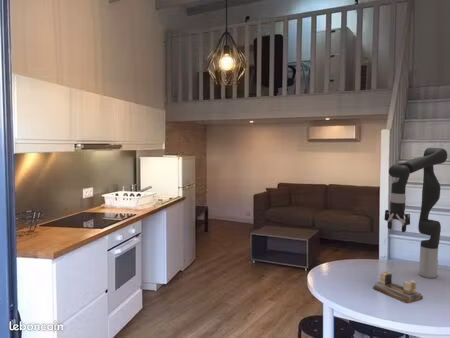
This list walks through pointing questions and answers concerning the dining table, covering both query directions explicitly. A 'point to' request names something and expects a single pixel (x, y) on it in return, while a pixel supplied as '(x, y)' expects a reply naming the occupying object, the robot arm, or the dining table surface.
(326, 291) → the dining table surface
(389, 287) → the rail base
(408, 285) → the maple finger
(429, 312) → the dining table surface
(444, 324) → the dining table surface
